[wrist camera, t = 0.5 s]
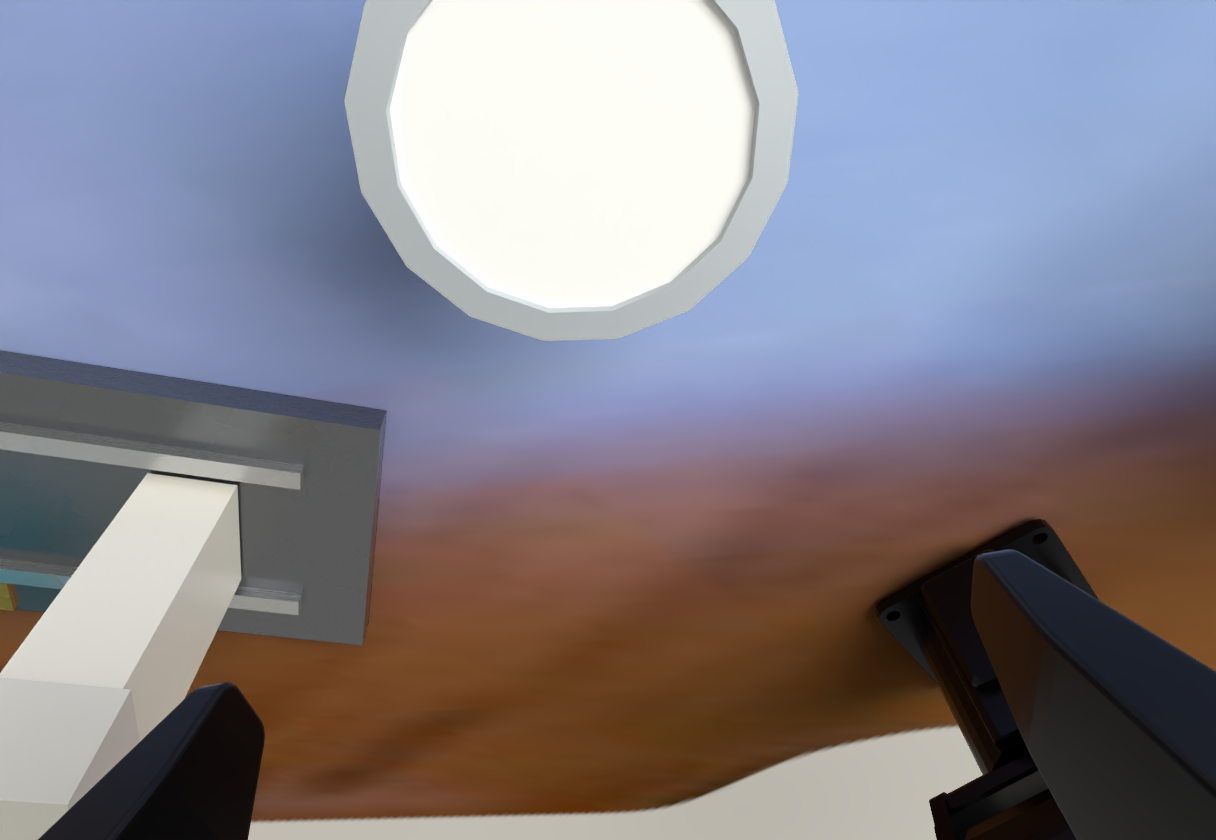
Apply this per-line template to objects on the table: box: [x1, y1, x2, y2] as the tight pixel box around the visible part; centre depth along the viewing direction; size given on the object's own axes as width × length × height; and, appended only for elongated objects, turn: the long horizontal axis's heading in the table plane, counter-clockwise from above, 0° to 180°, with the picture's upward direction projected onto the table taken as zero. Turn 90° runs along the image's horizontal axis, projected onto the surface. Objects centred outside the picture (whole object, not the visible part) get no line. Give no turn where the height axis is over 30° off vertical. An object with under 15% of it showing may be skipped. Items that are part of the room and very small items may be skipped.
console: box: [0, 351, 387, 645], centre depth 23 cm, size 14×9×1 cm, turn 77°
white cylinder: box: [344, 0, 799, 341], centre depth 15 cm, size 7×7×7 cm
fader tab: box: [0, 473, 241, 840], centre depth 19 cm, size 3×4×10 cm
